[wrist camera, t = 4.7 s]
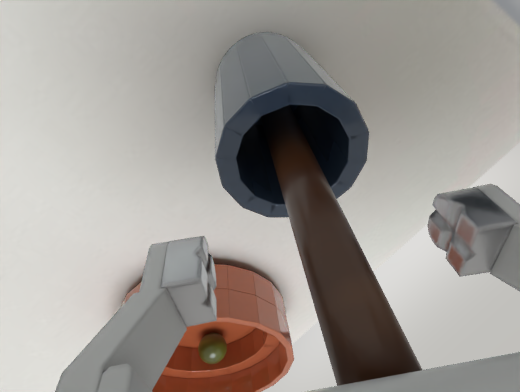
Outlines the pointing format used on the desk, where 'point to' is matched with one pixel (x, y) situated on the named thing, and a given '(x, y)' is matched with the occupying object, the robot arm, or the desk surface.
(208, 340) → the bead
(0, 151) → the desk surface
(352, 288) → the stick
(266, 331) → the bowl
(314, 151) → the crock
